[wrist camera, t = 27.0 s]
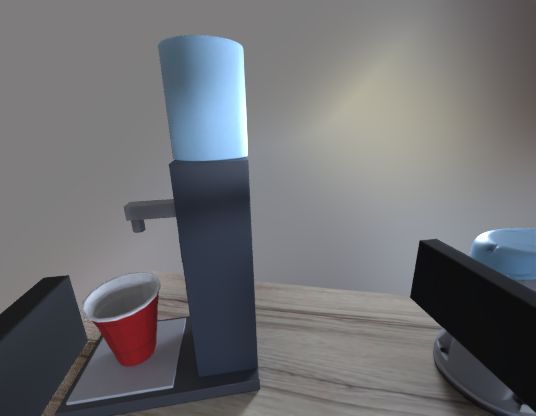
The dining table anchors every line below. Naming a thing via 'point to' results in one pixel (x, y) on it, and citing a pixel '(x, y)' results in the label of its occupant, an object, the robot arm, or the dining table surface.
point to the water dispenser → (193, 246)
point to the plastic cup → (126, 315)
